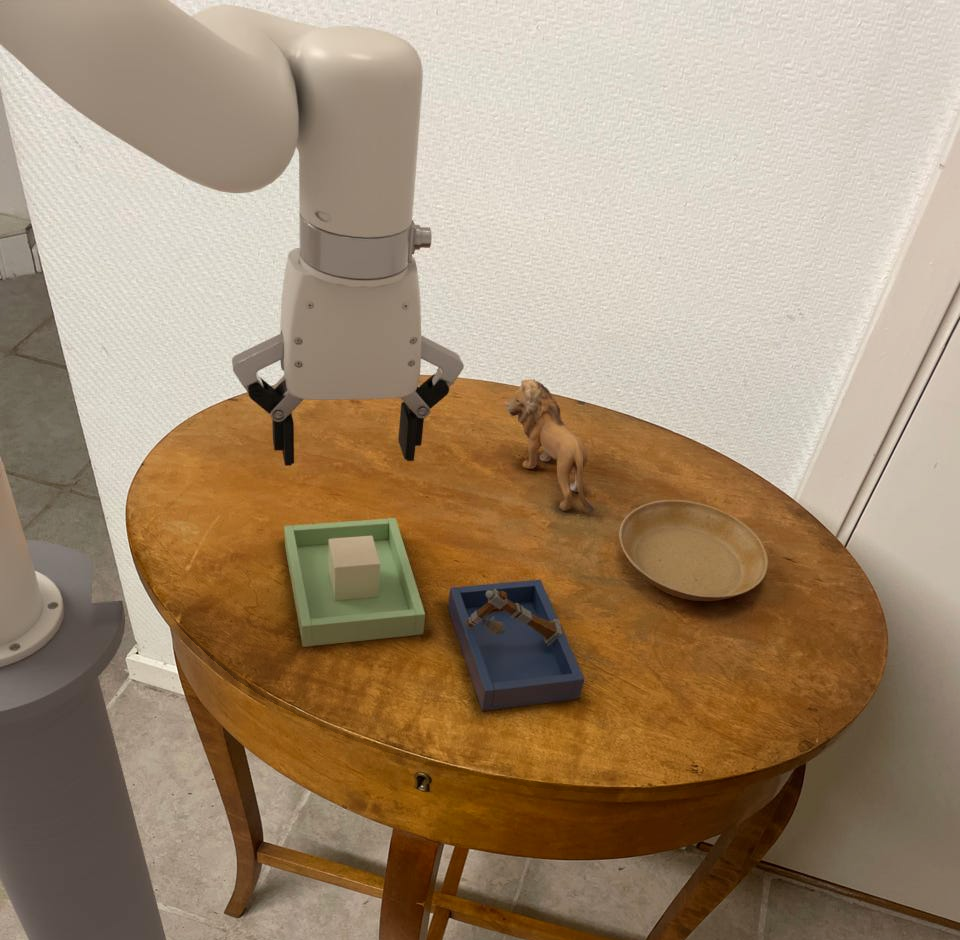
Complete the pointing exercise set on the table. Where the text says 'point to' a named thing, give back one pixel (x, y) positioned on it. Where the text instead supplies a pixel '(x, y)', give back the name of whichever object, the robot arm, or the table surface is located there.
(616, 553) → the table surface
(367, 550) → the cream block
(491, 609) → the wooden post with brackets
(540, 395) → the lion figurine
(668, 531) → the plant saucer
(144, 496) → the table surface
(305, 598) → the sage tray
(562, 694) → the slate tray
